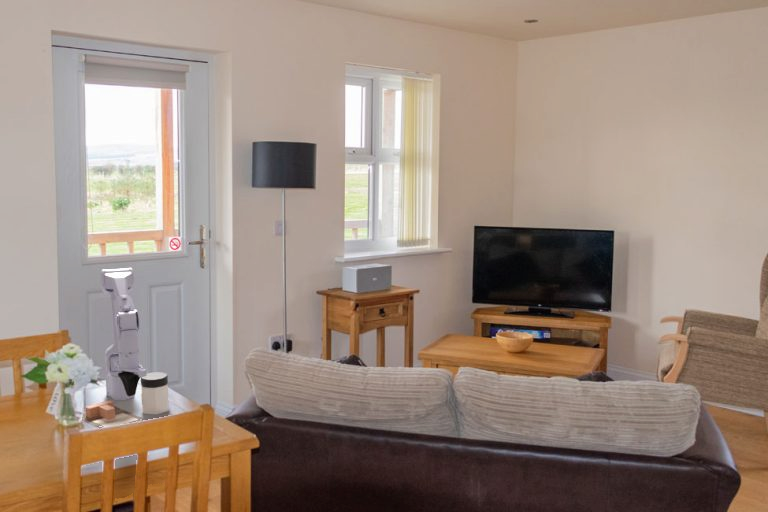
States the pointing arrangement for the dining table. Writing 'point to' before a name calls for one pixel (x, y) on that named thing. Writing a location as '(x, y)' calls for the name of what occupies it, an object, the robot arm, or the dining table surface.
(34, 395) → the dining table surface
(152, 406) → the jar
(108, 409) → the t block
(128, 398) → the robot arm
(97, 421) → the board
